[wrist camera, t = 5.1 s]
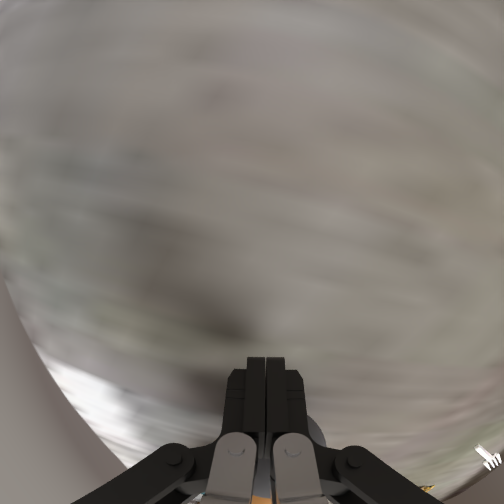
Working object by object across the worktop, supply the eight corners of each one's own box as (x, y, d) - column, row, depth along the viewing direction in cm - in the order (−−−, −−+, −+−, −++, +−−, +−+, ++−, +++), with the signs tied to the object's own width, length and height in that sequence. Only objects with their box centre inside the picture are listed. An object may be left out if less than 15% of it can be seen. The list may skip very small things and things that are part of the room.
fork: (486, 435, 21) (490, 446, 19) (500, 453, 27) (503, 461, 25) (463, 450, 22) (467, 461, 21) (484, 464, 28) (487, 471, 26)
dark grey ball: (247, 525, 11) (243, 465, 16) (348, 494, 11) (322, 438, 16) (200, 466, 10) (208, 405, 16) (324, 427, 10) (297, 374, 16)
